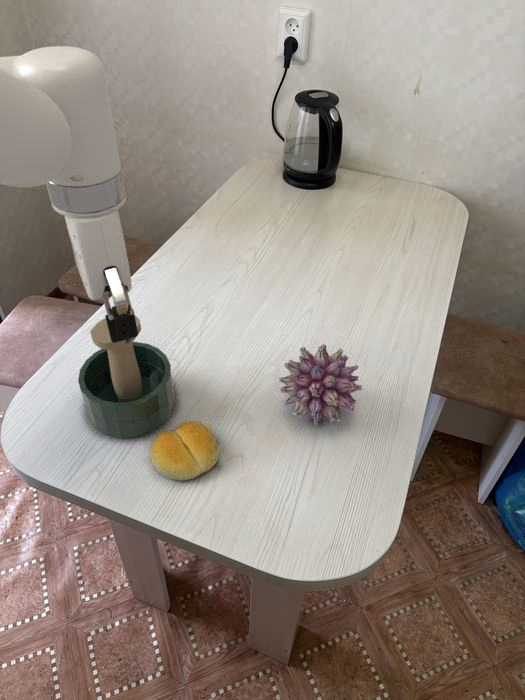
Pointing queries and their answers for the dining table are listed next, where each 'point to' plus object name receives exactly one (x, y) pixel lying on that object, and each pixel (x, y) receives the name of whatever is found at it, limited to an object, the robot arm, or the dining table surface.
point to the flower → (320, 384)
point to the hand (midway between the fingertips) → (115, 314)
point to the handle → (120, 362)
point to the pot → (134, 414)
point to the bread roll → (185, 451)
